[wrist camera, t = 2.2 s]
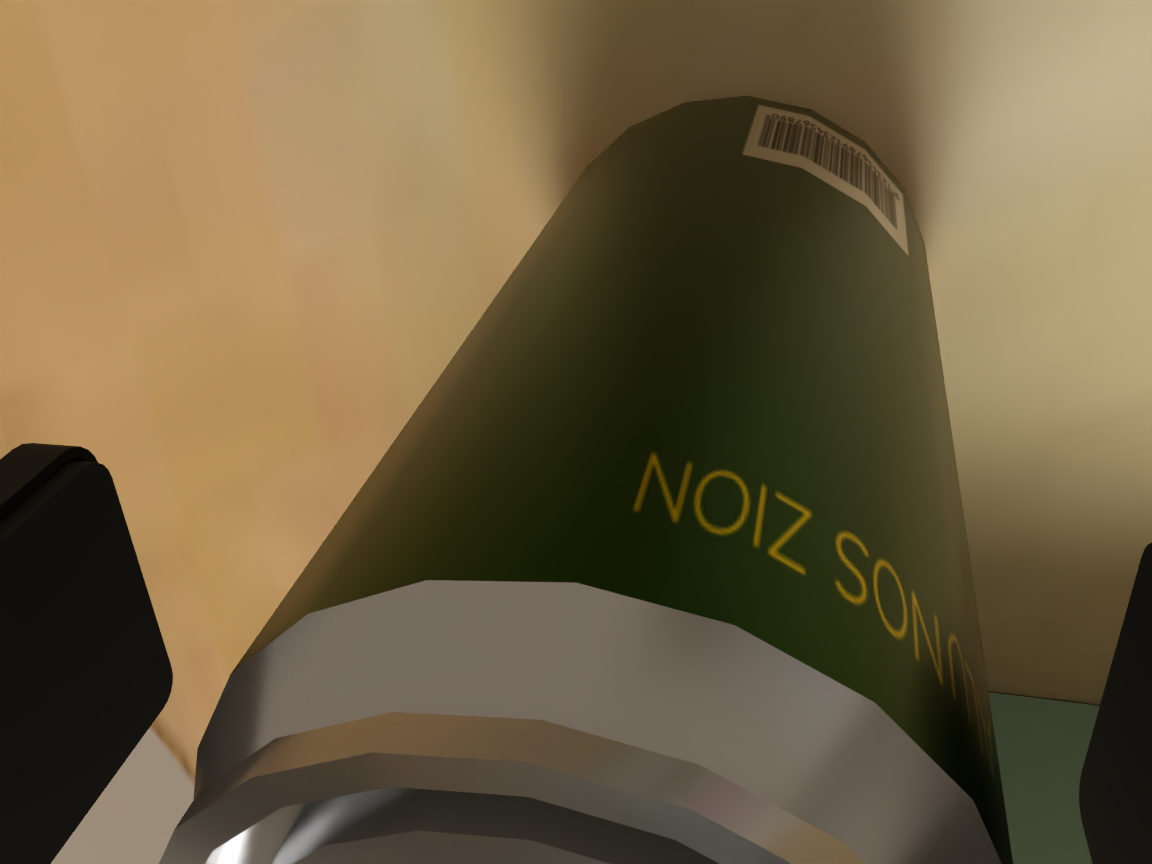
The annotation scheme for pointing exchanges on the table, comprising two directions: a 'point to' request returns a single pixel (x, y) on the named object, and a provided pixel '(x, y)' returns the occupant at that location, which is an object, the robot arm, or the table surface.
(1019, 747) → the open rectangular storage bin
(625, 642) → the beer can
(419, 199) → the table surface
